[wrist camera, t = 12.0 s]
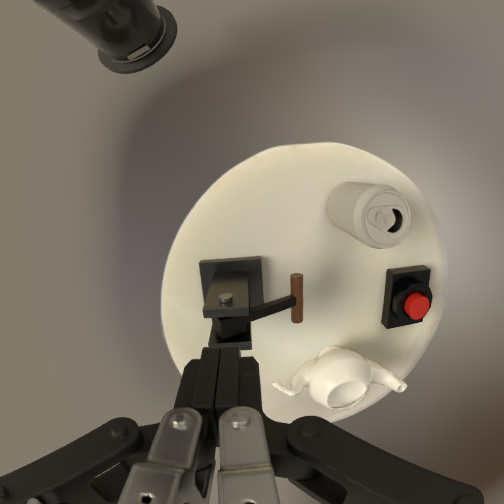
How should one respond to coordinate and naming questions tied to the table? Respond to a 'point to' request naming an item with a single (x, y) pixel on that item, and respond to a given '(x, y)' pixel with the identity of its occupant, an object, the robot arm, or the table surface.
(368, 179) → the table surface
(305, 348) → the table surface
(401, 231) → the beverage can
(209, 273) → the bracket
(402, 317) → the control block
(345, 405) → the teapot
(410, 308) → the button
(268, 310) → the lever
